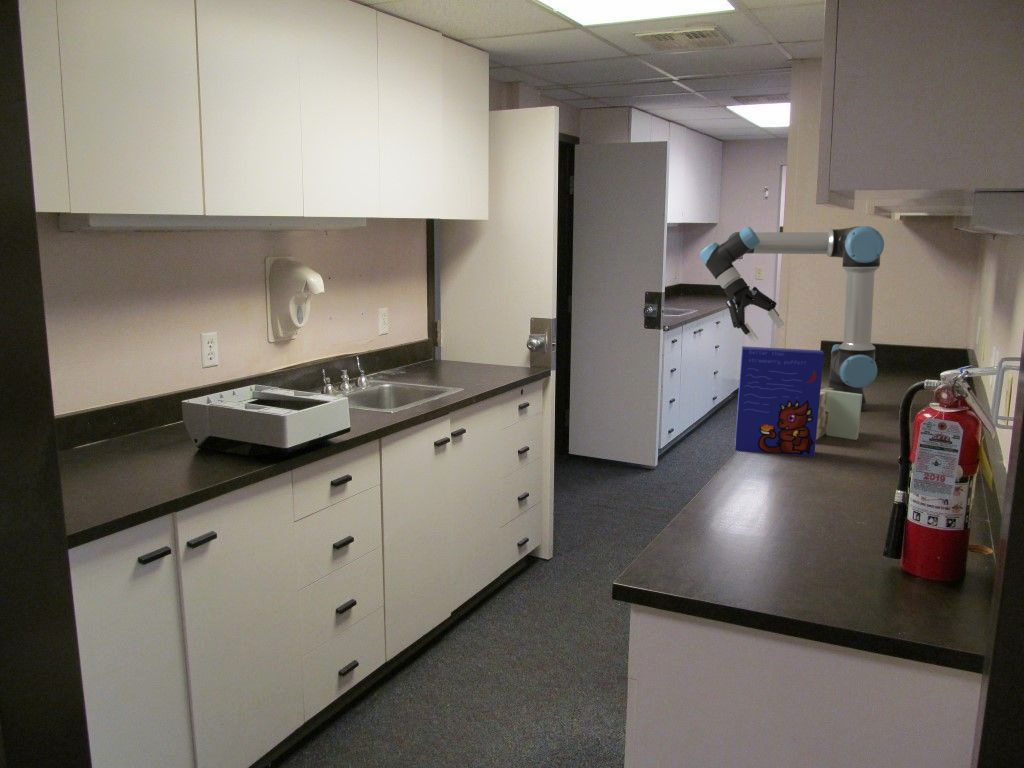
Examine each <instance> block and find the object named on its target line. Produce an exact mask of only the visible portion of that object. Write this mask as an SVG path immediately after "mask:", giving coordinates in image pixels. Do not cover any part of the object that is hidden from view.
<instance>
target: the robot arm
mask: <svg viewBox="0 0 1024 768" xmlns="http://www.w3.org/2000/svg"><path fill="white" fill-rule="evenodd" d="M884 248H885V240H884V237H883V235H882V234H881V233H880V231H879V230H877V229H876V228H874V227H871V226H867V225H863V226H860V225H859V226H852V227H845V228H839V229H836V228H833V229H830V230H828V231H826V232H825V231H823V232H822V231H821V232H820V231H818V232H817V231H816V232H814V231H812V232H810V231H808V232H807V231H806V232H802V231H801V232H799V231H797V232H796V231H795V232H794V231H793V232H791V231H790V232H789V231H788V232H787V231H786V232H784V231H781V232H779V231H775V232H774V231H773V232H772V231H771V232H769V231H768V232H765V231H763V232H762V231H760V232H759V231H756V232H755V231H754V230H753V229H752V227H751V226H748V225H747V226H745V227H743V228H742V229H740V230H739V231H736V232H733V233H731V234H730V235H729V237H728V238H727V240H725V241H724V242H723V243H721V244H719V243H718V242H715V241H714V242H711V243H710V244H709V245H707V246H706V247H704V248H703V249H702V250H701V251H700V253H699V256H700V259H701V260H702V263H703V264H704V265H705V267H706V268H707V269H708V271H709V272H710V273H711V275H712V276H713V278H714V279H715V281H716V282H717V283H718V285H719V286H720V287H721V289H724V290H723V291H724V293H725V294H726V296H727V297H728V298H729V300H728V301H726V302H725V304H726V306H727V308H728V311H729V314H730V315H729V316H730V318H731V322H732V327H733V328H735V329H741V331H742V332H743V334H744V335H746V336H747V338H749V340H750V341H751V343H752V344H753V343H755V342H756V341H757V340H759V337H758V336H757V334H756V333H755V332H754V330H753V329H752V328H751V326H750V324H749V323H748V322H746V321H745V320H746V314H745V312H746V311H745V309H746V307H748V306H750V305H751V306H756V307H758V308H761V309H762V310H765V311H767V315H768V316H769V317H770V319H771V320H772V321H773V323H774V324H775V326H776V327H777V329H780V328H781V327H783V326H784V325H785V322H783V320H782V318H781V317H780V314H779V313H778V311H777V310H776V309H775V308H776V306H777V305H778V304H777V301H775V300H774V299H772V298H770V297H769V296H768V295H766V294H765V293H763V292H762V291H760V289H759V288H758V287H757V286H753V287H752V288H751V289H749V288H748V286H749V285H748V284H747V282H746V280H745V279H744V278H743V277H741V276H742V275H741V274H740V272H739V271H738V270H737V269H736V267H735V266H734V265H733V263H734V262H736V260H738V259H740V258H741V257H744V255H746V254H747V255H748V254H750V255H751V254H761V255H762V254H765V255H766V254H773V255H774V254H775V255H777V254H778V255H779V254H780V255H781V254H782V255H785V254H786V255H788V254H790V255H792V254H793V255H794V254H795V255H801V254H802V255H827V257H828V258H842V268H843V270H845V272H846V283H845V284H846V285H845V286H846V288H845V289H846V290H845V308H844V309H845V311H844V327H843V329H844V330H843V342H842V343H841V344H840V343H839V344H837V343H836V344H834V345H833V346H832V348H831V352H830V354H831V355H830V369H829V378H828V386H827V387H828V388H833V391H841V392H849V393H857V394H862V404H861V412H863V411H865V410H867V404H868V403H867V399H866V395H865V391H864V388H865V387H867V386H869V385H871V384H872V383H873V382H874V380H875V379H876V378H877V375H878V365H877V362H876V361H875V360H876V347H875V345H873V343H872V327H873V324H872V323H873V309H874V308H873V307H874V291H875V290H874V289H875V287H874V286H875V273H876V271H878V270H879V268H880V267H881V256H882V254H883V252H884ZM745 322H746V323H745Z"/></svg>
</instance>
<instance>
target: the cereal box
mask: <svg viewBox="0 0 1024 768" xmlns="http://www.w3.org/2000/svg"><path fill="white" fill-rule="evenodd" d="M740 355H741V357H740V367H739V368H740V370H739V384H738V396H737V410H736V421H735V422H736V423H735V425H736V426H735V434H734V436H735V437H734V451H738V452H747V453H748V452H749V453H750V452H751V453H761V454H775V455H784V456H785V455H788V456H801V457H813V458H814V457H815V452H816V444H817V443H816V441H817V440H816V433H817V422H818V411H819V401H820V390H821V389H822V379H823V368H824V367H823V366H824V358H825V357H824V356H825V353H824V351H823V350H822V349H821V350H820V349H819V350H818V349H800V348H799V349H798V348H781V347H780V348H779V347H766V346H765V347H763V346H762V347H759V346H744V345H743V346H741V354H740Z"/></svg>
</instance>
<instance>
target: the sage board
mask: <svg viewBox="0 0 1024 768" xmlns="http://www.w3.org/2000/svg"><path fill="white" fill-rule="evenodd" d="M820 391H826V392H827V398H826V409H825V411H826V412H828V423H827V433H826V434H825V435H826V436H829V437H836V438H843V439H847V440H855V441H856V440H857V439H859V431H860V423H861V412H862V411H861V404H862V394H857V393H849V392H841V391H833V390H825V389H822V388H821V390H820Z"/></svg>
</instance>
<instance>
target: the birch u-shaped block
mask: <svg viewBox="0 0 1024 768" xmlns="http://www.w3.org/2000/svg"><path fill="white" fill-rule="evenodd" d="M823 389H825V390H833V388H828V386H826V387H823ZM826 398H827V392H826V391H820V401H819V411H818V422H817V433H816V441H817V440H819V438H822V437H823V436H824V435H826V433H827V423H828V412H826V411H825V409H826Z"/></svg>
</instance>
